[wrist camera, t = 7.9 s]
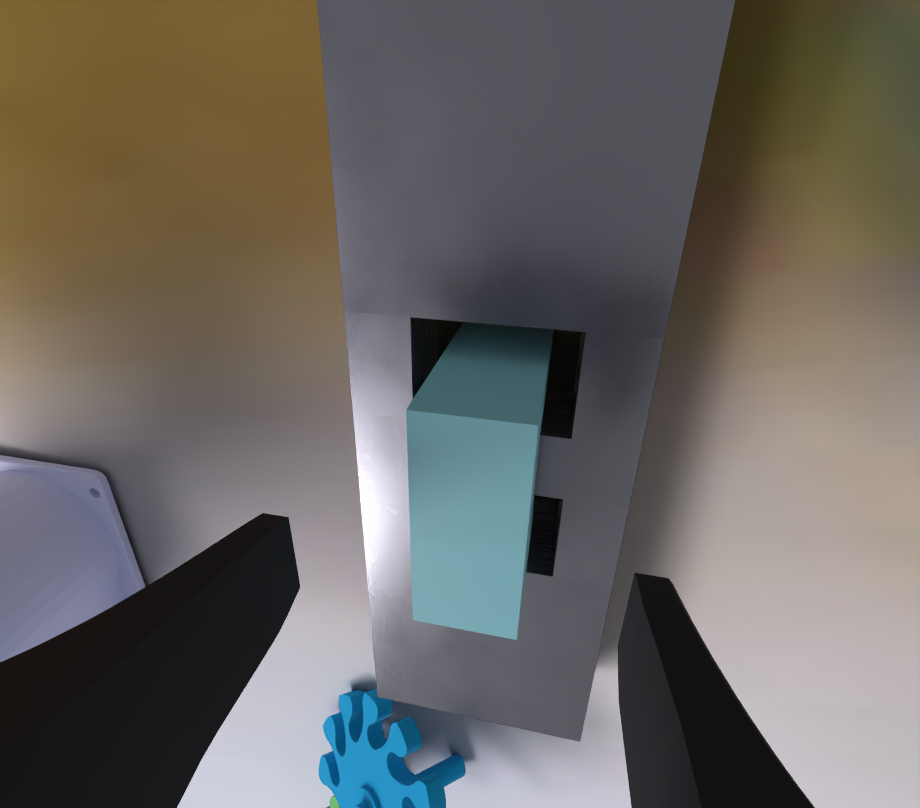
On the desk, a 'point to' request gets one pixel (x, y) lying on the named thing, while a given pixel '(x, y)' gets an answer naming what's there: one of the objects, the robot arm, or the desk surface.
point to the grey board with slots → (513, 286)
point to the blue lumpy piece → (379, 759)
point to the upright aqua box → (476, 476)
